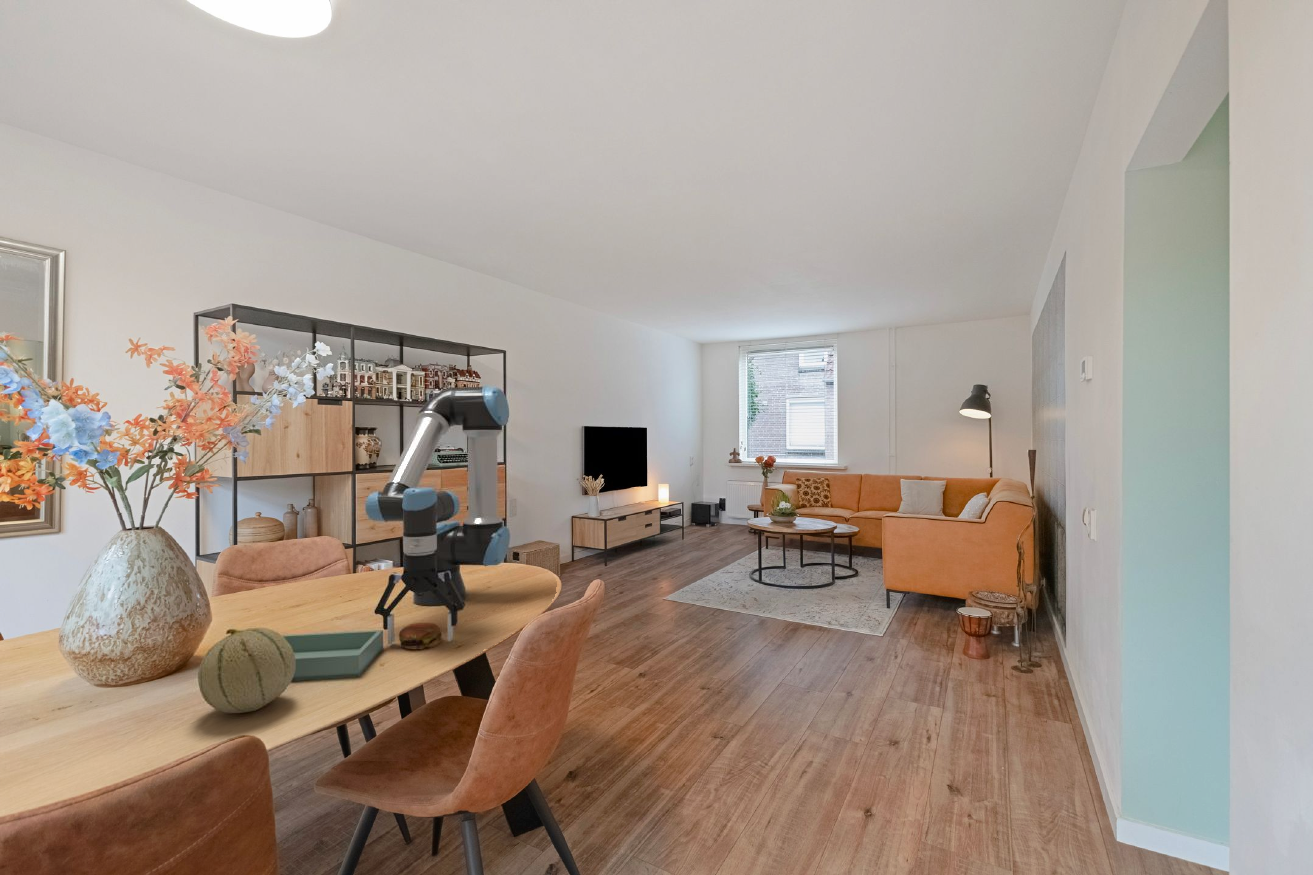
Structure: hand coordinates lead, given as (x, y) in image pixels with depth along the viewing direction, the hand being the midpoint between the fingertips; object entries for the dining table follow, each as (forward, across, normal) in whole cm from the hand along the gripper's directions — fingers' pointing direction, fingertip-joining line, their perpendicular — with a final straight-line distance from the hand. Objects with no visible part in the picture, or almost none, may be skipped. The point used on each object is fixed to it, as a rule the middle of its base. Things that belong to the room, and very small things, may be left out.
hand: (421, 640), depth 141 cm
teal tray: (+1, -20, -10) cm, 22 cm away
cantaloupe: (+1, -23, -30) cm, 38 cm away
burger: (+1, 0, 0) cm, 1 cm away
